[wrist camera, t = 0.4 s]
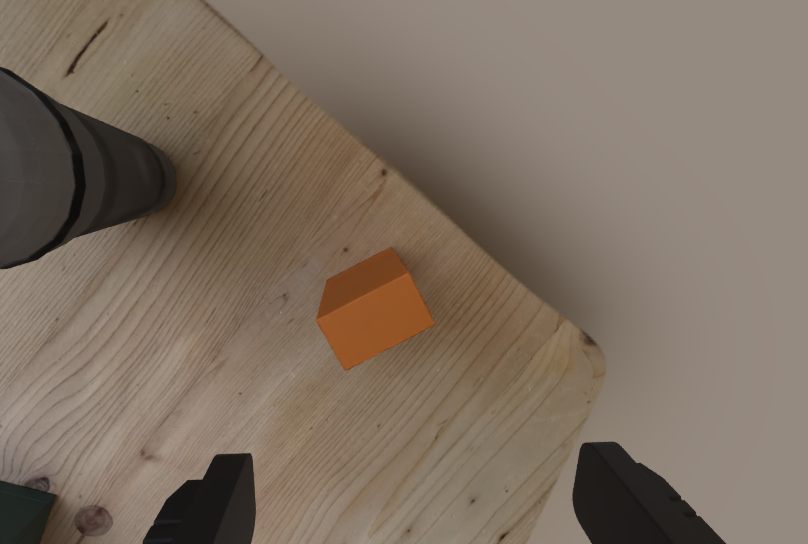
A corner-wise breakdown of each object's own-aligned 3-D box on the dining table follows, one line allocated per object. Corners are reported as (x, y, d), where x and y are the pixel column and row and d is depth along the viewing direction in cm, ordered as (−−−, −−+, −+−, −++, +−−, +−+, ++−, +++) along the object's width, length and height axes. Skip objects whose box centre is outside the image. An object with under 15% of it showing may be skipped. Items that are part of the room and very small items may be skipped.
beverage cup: (54, 202, 25) (-958, 240, 6) (100, 91, 24) (-896, -301, 5) (171, 256, 27) (-317, 433, 7) (219, 153, 26) (-187, 40, 6)
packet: (326, 279, 28) (315, 320, 19) (391, 246, 28) (409, 271, 20) (347, 316, 29) (345, 372, 20) (410, 284, 29) (436, 324, 20)
